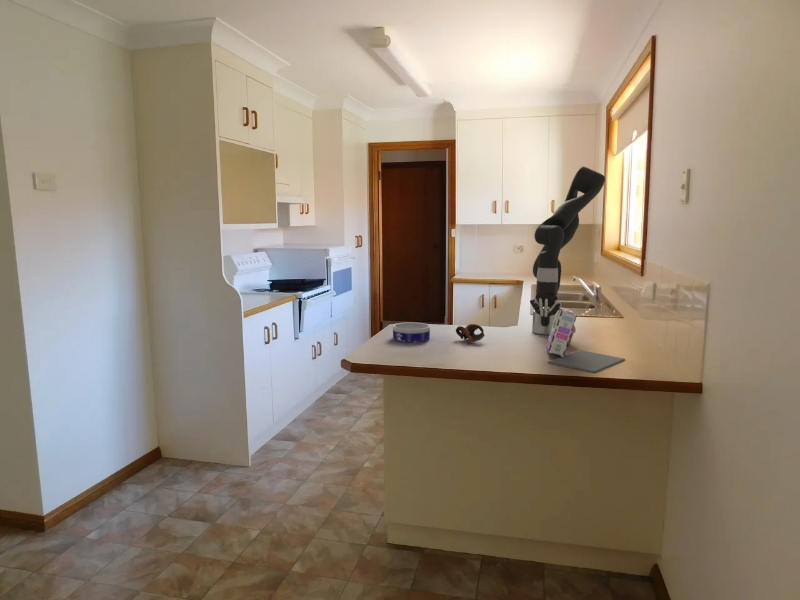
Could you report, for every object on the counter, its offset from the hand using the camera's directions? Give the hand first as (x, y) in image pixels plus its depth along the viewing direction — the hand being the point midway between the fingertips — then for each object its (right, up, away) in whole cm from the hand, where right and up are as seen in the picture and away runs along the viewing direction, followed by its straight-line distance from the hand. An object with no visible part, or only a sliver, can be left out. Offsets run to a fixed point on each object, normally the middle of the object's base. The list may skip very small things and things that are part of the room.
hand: (545, 326), depth 205 cm
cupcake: (+11, -8, +16) cm, 21 cm away
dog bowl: (-49, -7, +22) cm, 55 cm away
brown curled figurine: (-26, -7, +20) cm, 33 cm away
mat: (+12, -12, -10) cm, 20 cm away
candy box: (+3, -10, -1) cm, 10 cm away
